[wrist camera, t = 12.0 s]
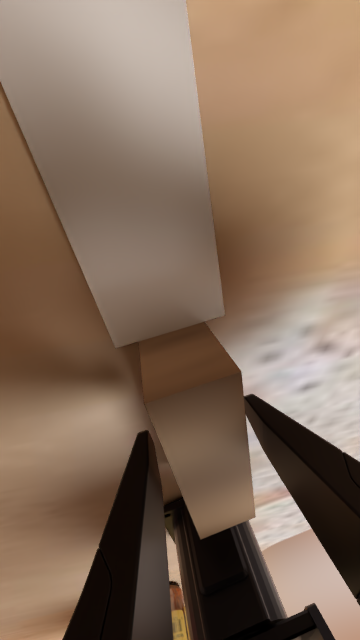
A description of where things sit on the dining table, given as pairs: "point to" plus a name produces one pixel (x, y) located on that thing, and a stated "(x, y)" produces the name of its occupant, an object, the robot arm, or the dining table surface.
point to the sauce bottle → (178, 614)
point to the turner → (138, 216)
